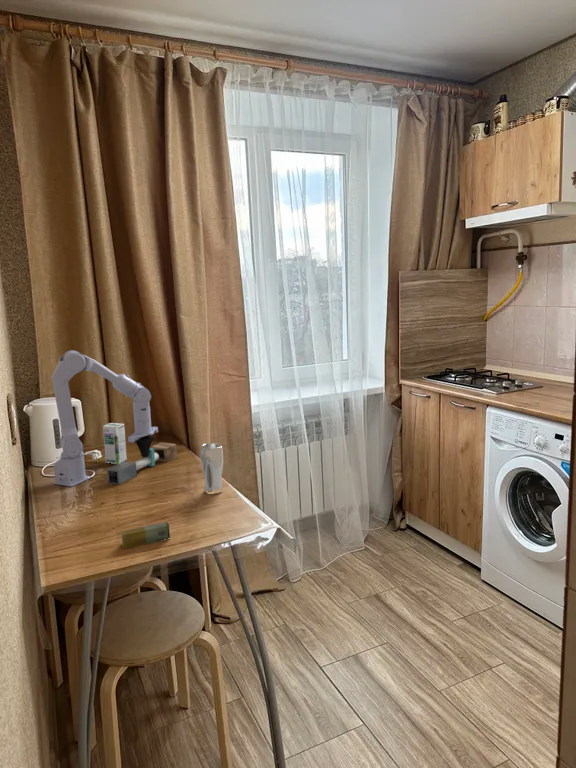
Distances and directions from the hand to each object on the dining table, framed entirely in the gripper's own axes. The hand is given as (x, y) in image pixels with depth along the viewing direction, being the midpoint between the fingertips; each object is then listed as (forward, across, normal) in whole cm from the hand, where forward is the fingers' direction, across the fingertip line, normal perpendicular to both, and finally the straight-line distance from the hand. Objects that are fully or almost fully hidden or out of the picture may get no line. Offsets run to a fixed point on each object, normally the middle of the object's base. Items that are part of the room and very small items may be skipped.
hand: (145, 456), depth 198 cm
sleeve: (+4, -13, 0) cm, 13 cm away
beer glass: (+5, -11, -35) cm, 37 cm away
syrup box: (+4, +2, +15) cm, 16 cm away
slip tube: (+4, -4, 0) cm, 5 cm away
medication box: (+5, -48, -37) cm, 60 cm away
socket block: (+4, +11, 0) cm, 12 cm away
